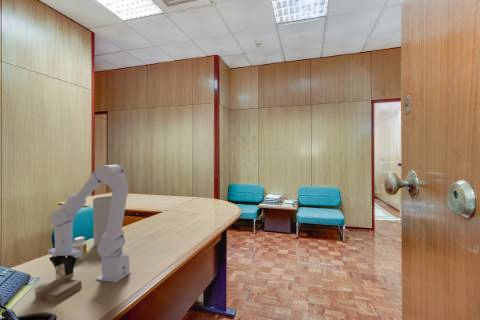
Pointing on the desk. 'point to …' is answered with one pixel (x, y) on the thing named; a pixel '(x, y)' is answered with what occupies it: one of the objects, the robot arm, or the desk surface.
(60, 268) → the maple block
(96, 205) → the cylinder vase
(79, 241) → the supplement bottle
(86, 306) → the desk surface
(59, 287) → the walnut block
